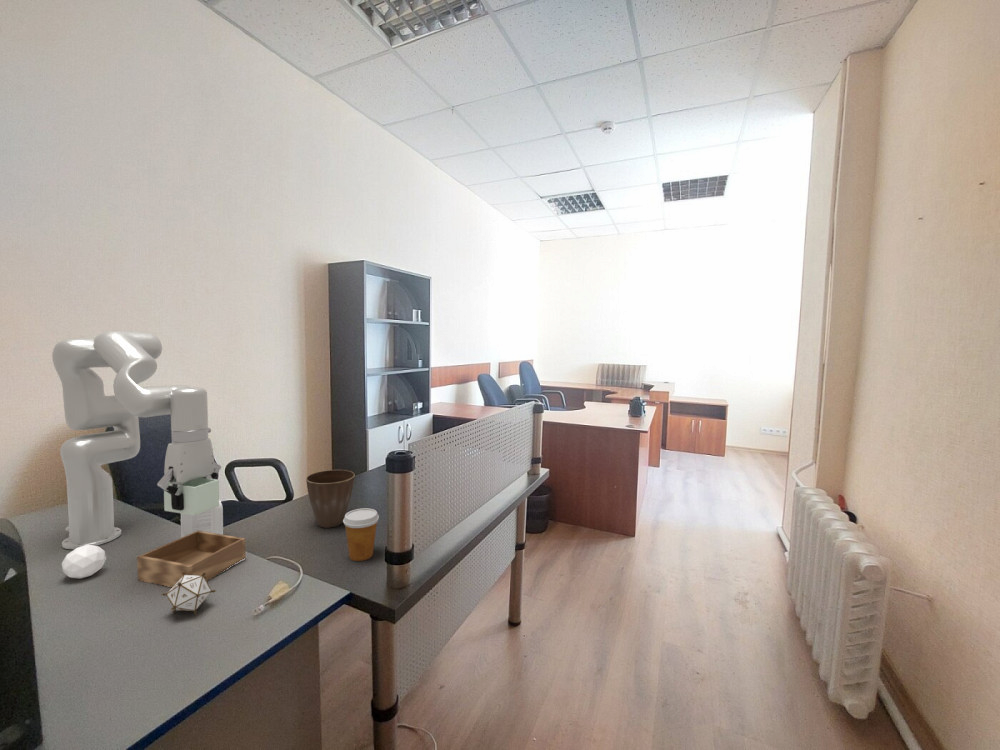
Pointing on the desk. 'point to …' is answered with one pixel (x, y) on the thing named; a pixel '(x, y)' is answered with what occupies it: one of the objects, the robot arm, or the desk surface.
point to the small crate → (196, 496)
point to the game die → (189, 592)
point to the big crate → (190, 558)
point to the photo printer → (203, 521)
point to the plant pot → (330, 495)
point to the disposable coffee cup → (361, 532)
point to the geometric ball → (83, 561)
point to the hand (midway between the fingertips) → (192, 503)
